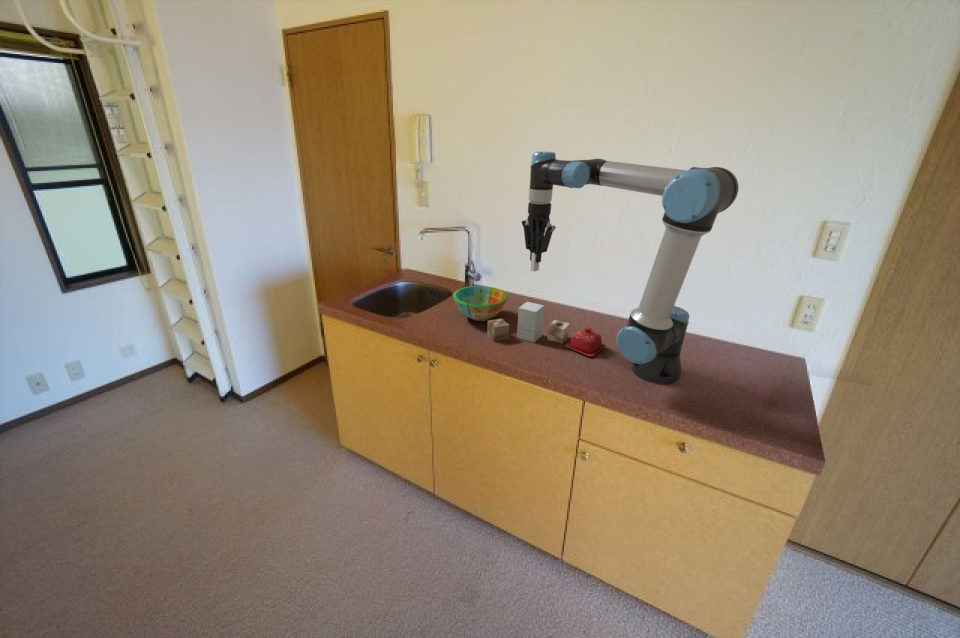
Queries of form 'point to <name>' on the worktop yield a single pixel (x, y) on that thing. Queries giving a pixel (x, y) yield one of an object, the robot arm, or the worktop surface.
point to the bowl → (480, 301)
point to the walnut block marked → (498, 329)
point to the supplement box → (530, 321)
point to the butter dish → (586, 342)
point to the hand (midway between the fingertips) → (534, 270)
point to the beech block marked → (558, 331)
